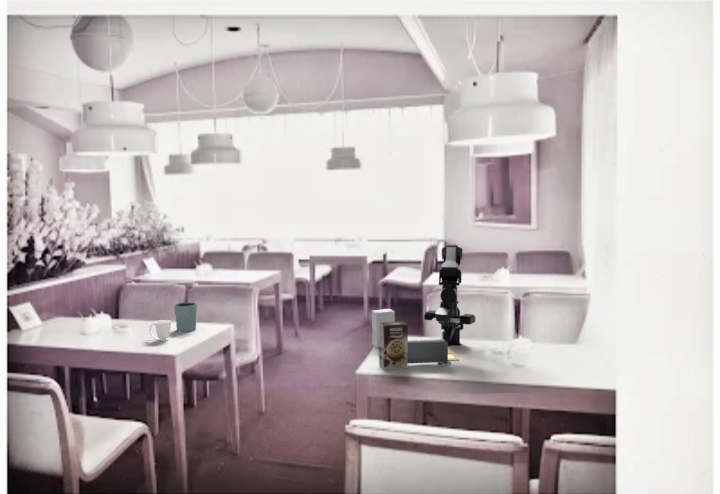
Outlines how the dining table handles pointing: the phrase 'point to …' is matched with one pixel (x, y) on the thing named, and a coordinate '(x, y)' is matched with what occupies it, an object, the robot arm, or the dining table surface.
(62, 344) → the dining table surface
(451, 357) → the left label plate
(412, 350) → the gray rectangular panel
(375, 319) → the skincare box
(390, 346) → the cookie box
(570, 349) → the dining table surface
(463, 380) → the dining table surface
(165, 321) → the cup
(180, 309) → the teal tapered pot
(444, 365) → the flange
